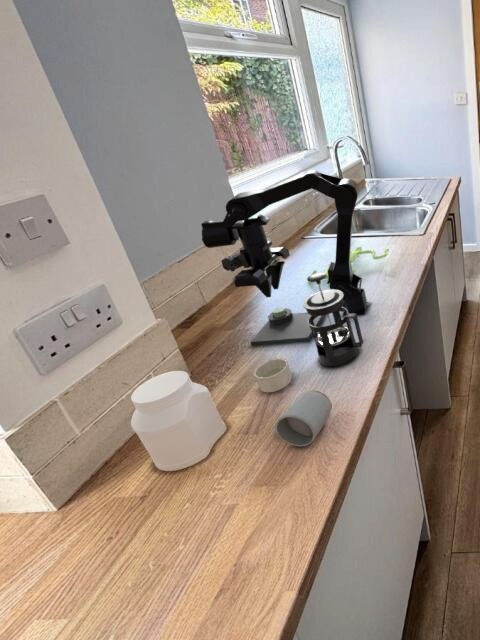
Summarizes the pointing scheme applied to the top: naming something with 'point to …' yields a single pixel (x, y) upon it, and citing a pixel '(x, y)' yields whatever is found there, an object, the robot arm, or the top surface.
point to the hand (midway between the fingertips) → (272, 292)
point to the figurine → (355, 253)
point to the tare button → (279, 312)
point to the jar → (175, 420)
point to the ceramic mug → (304, 418)
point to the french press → (332, 326)
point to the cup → (273, 375)
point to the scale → (286, 329)
